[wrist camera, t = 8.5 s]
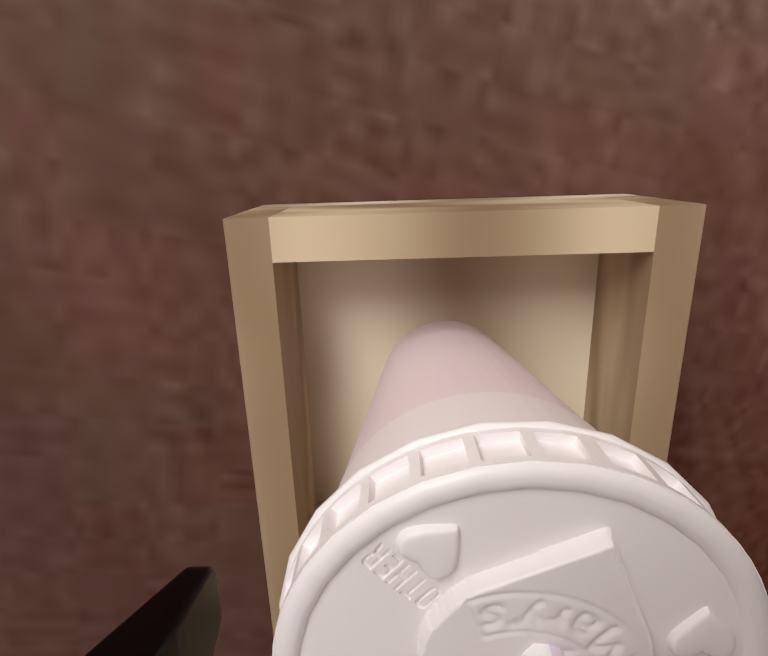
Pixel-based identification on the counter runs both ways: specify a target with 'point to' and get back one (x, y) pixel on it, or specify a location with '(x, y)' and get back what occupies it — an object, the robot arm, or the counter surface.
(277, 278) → the tray
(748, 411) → the counter surface
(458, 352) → the smoothie
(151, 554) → the counter surface
